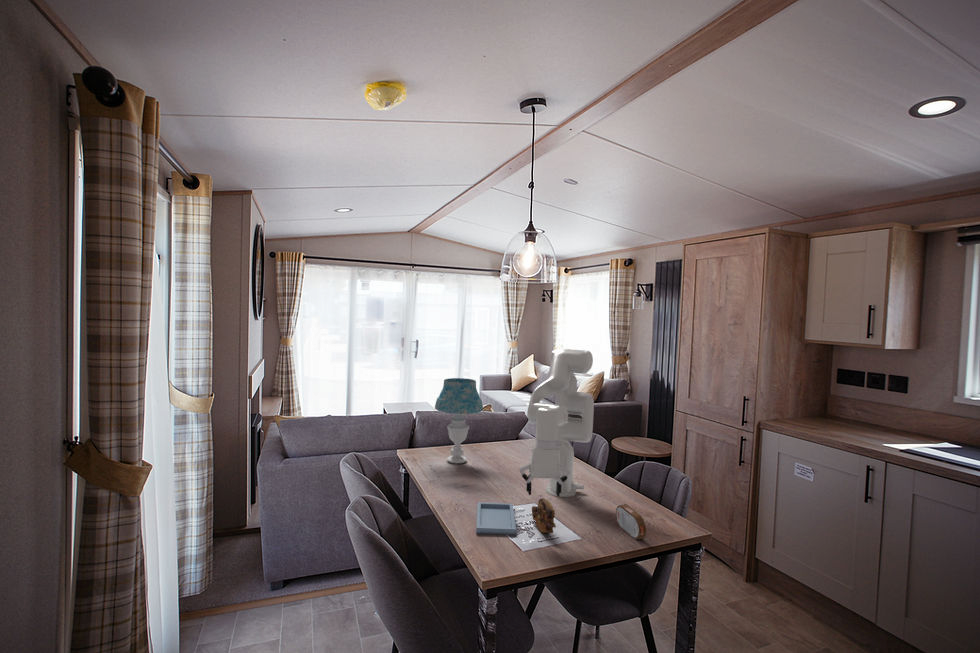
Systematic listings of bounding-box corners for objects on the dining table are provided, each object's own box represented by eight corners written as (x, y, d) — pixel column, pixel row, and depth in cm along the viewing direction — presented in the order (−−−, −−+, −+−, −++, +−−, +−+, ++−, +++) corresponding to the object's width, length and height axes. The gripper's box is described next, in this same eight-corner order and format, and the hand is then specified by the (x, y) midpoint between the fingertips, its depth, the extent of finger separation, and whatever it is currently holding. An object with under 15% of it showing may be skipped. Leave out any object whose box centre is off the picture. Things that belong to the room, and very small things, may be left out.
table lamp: (484, 455, 241) (487, 378, 240) (476, 470, 217) (479, 385, 216) (439, 451, 244) (442, 376, 243) (426, 465, 221) (430, 382, 220)
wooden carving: (526, 520, 166) (527, 492, 166) (538, 519, 168) (539, 491, 167) (547, 542, 151) (548, 511, 150) (559, 540, 152) (561, 510, 152)
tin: (646, 543, 153) (647, 518, 152) (638, 544, 152) (639, 519, 151) (621, 523, 167) (622, 500, 167) (613, 524, 166) (615, 500, 166)
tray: (512, 508, 176) (512, 503, 176) (515, 535, 154) (516, 529, 154) (477, 507, 176) (477, 502, 175) (476, 533, 154) (476, 527, 154)
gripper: (569, 442, 162) (567, 491, 162) (519, 440, 162) (517, 489, 162) (573, 448, 155) (570, 499, 155) (521, 445, 154) (519, 497, 154)
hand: (543, 494), depth 158 cm, fingers open, 9 cm apart
